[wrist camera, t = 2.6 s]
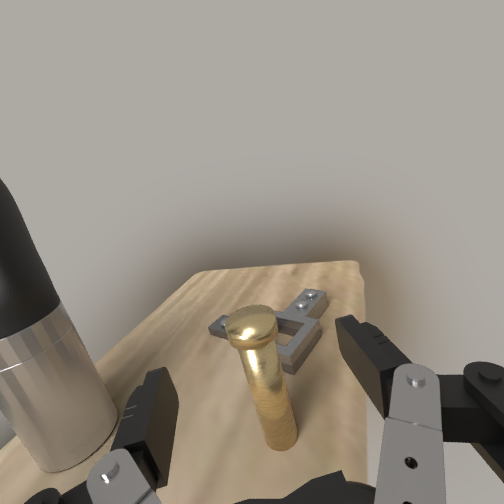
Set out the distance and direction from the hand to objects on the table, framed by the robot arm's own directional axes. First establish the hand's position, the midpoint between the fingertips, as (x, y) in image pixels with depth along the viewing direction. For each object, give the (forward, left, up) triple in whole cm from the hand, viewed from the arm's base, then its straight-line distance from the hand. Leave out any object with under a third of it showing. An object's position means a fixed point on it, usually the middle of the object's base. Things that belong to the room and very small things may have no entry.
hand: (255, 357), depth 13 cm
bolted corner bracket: (-20, +24, -19) cm, 37 cm away
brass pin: (-8, +8, -19) cm, 22 cm away
